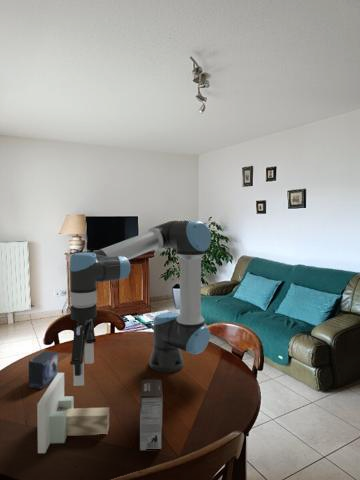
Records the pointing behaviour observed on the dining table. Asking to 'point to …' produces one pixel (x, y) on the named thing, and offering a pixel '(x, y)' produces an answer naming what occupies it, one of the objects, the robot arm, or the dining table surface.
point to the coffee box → (151, 414)
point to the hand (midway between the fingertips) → (84, 373)
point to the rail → (86, 421)
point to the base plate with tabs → (53, 414)
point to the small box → (43, 369)
